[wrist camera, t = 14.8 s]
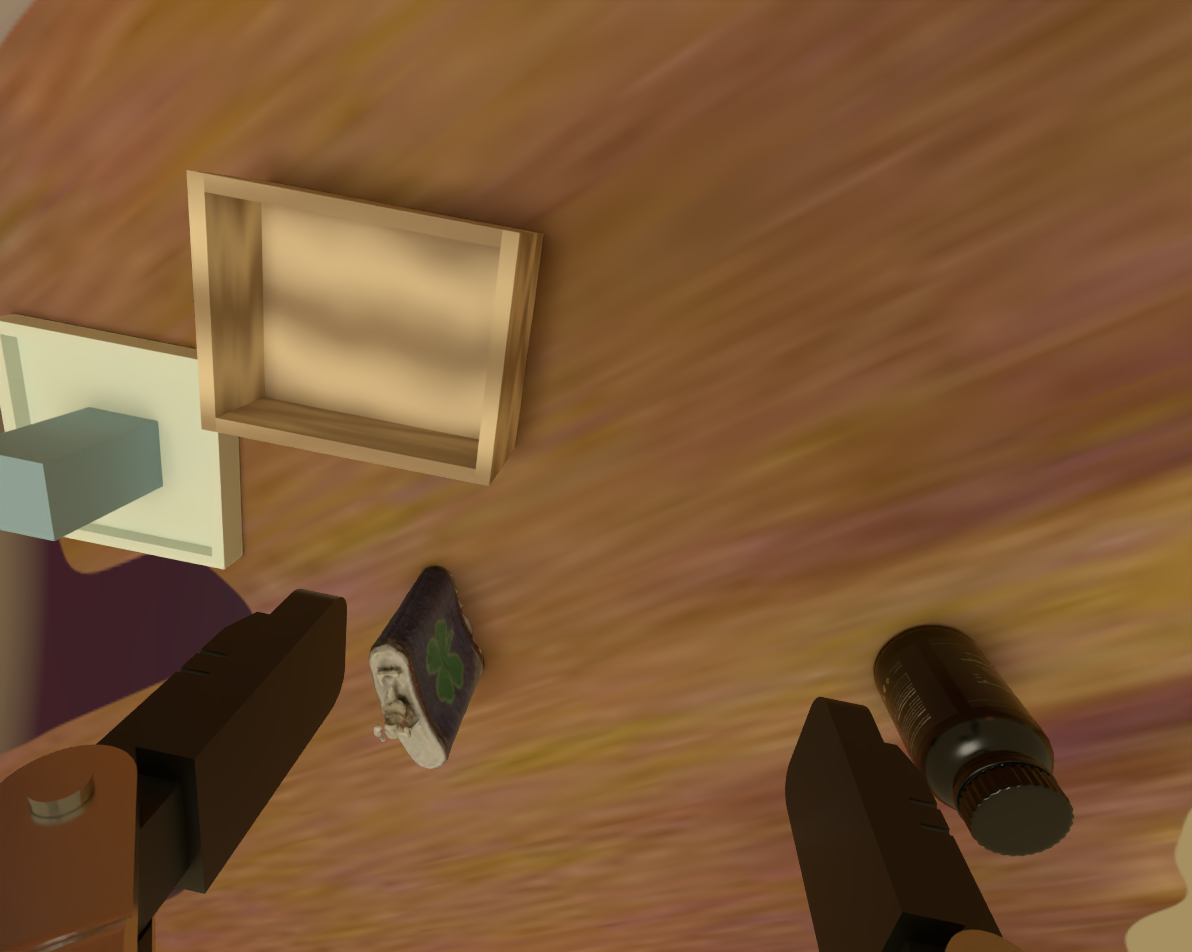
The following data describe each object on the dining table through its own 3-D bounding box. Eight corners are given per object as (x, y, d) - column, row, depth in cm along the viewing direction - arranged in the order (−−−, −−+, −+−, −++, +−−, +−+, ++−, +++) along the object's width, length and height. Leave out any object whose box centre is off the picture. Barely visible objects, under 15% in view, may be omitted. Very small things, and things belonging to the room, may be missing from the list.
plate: (16, 314, 39) (-16, 317, 37) (236, 356, 39) (214, 363, 37) (48, 516, 44) (22, 528, 42) (243, 555, 44) (224, 569, 42)
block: (88, 407, 40) (-42, 446, 32) (157, 421, 40) (42, 463, 32) (96, 472, 41) (-27, 524, 34) (163, 486, 41) (54, 541, 34)
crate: (267, 181, 35) (186, 169, 29) (544, 233, 35) (519, 233, 29) (271, 399, 40) (201, 429, 34) (514, 447, 39) (488, 486, 33)
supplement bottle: (908, 724, 44) (994, 891, 33) (851, 659, 43) (920, 810, 31) (1000, 674, 42) (1125, 833, 31) (943, 604, 40) (1052, 745, 29)
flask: (490, 672, 46) (442, 794, 36) (452, 678, 46) (395, 800, 36) (449, 560, 43) (384, 659, 33) (409, 568, 43) (334, 667, 33)
